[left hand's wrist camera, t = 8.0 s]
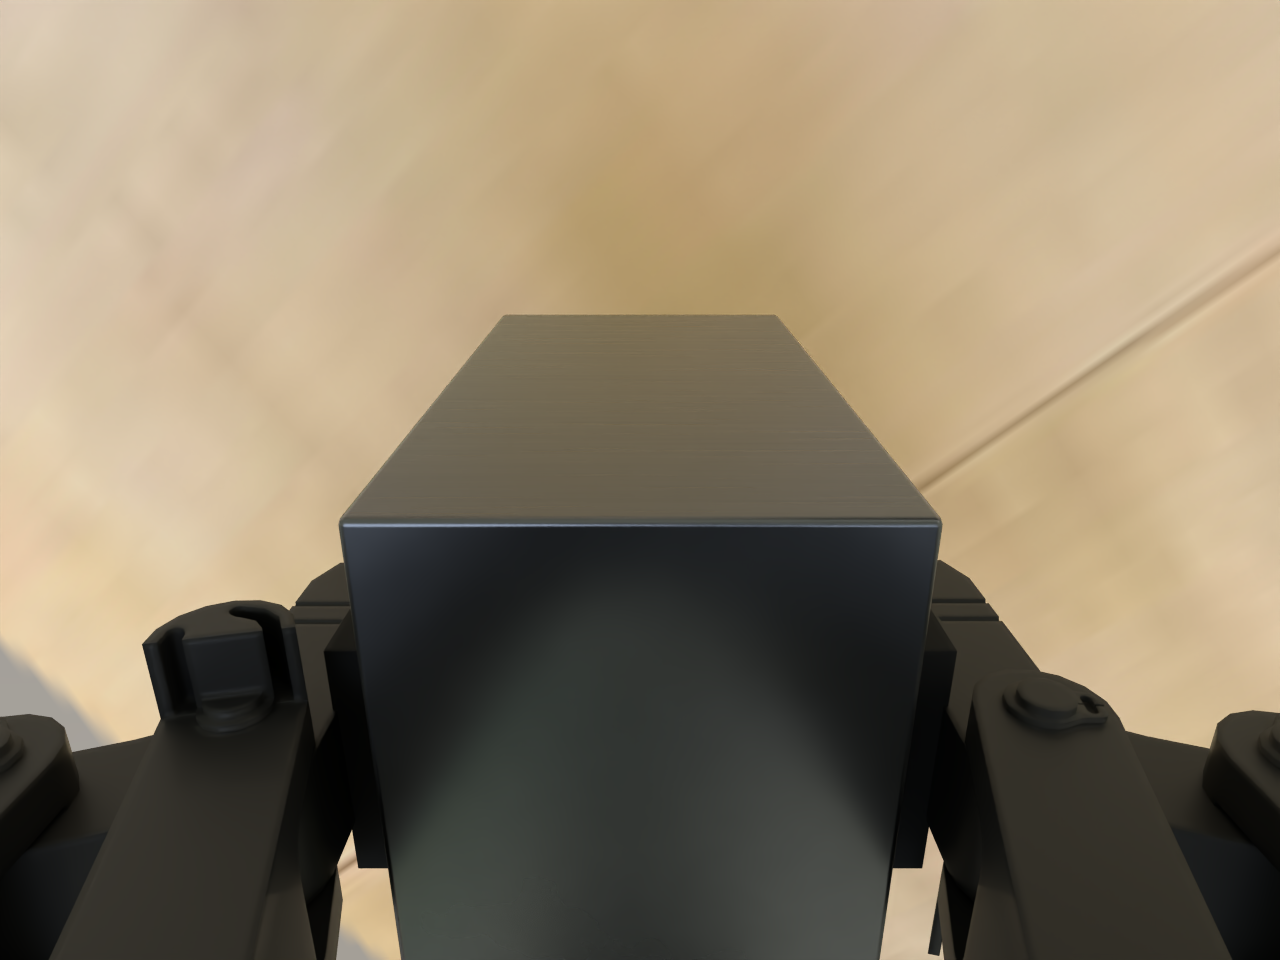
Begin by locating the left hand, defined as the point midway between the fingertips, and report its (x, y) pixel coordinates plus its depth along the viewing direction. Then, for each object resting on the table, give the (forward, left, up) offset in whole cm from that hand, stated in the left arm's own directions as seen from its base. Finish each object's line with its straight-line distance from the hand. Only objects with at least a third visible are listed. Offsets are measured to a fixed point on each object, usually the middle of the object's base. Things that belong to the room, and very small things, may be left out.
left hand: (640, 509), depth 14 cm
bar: (+10, 0, -1) cm, 10 cm away
